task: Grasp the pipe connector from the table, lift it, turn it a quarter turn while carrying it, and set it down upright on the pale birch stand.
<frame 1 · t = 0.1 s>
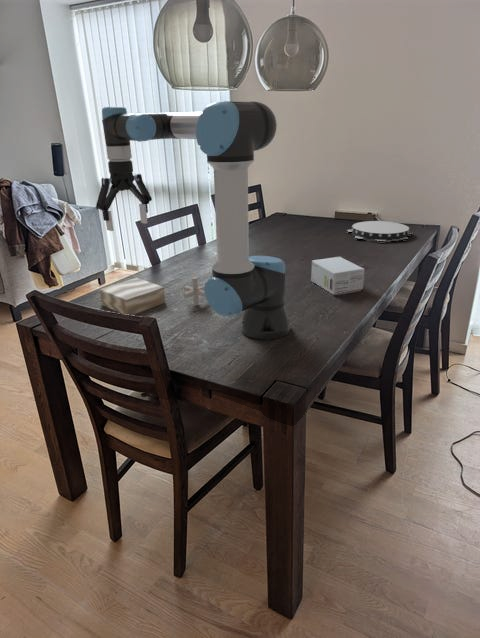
hand: (127, 226, 157), 28 cm above the table, tool pointing down, fingers open, 13 cm apart
stand: (133, 303, 169), on the table
supplement box: (335, 287, 181), on the table
pipe connector: (196, 305, 167), on the table
tambourine: (379, 236, 252), on the table
round metal puck: (243, 300, 170), on the table
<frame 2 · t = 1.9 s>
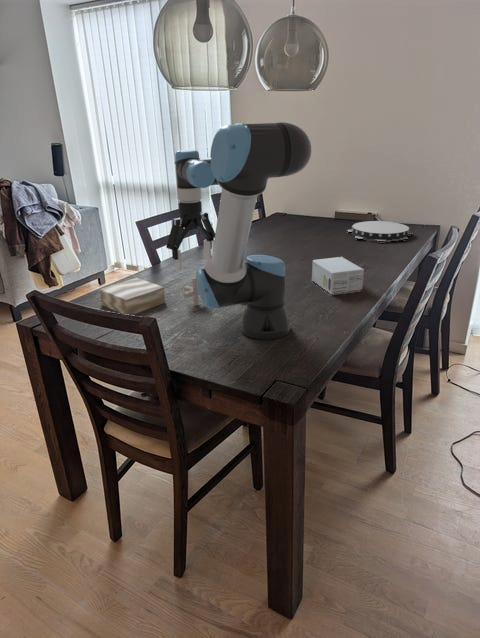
hand: (193, 263, 161), 15 cm above the table, tool pointing down, fingers open, 13 cm apart
nothing on the table moved.
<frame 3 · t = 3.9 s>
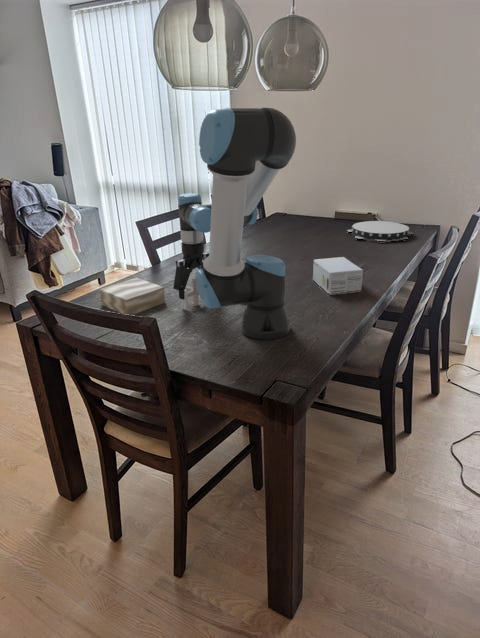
hand: (196, 302, 167), 1 cm above the table, tool pointing down, fingers closed on pipe connector, 10 cm apart
pipe connector: (196, 305, 167), on the table, touching gripper
everything else where it was.
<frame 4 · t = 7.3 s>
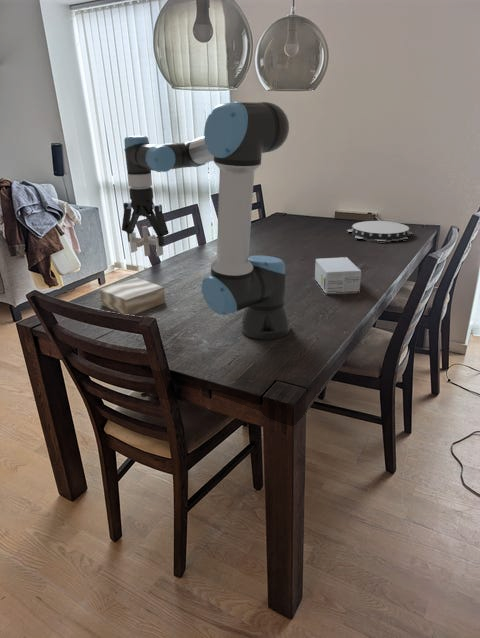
hand: (146, 253, 161), 19 cm above the table, tool pointing down, fingers closed on pipe connector, 10 cm apart
pipe connector: (147, 255, 162), point 18 cm above the table, touching gripper
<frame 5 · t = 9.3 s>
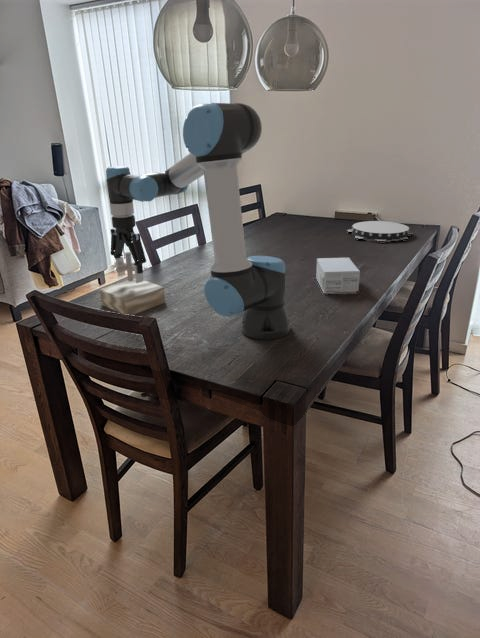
hand: (130, 278, 165), 10 cm above the table, tool pointing down, fingers closed on pipe connector, 10 cm apart
pipe connector: (130, 281, 165), point 9 cm above the table, touching gripper
when the fingers open (8 cm above the table, at t = 10.5 s): pipe connector drops 1 cm, resting on stand.
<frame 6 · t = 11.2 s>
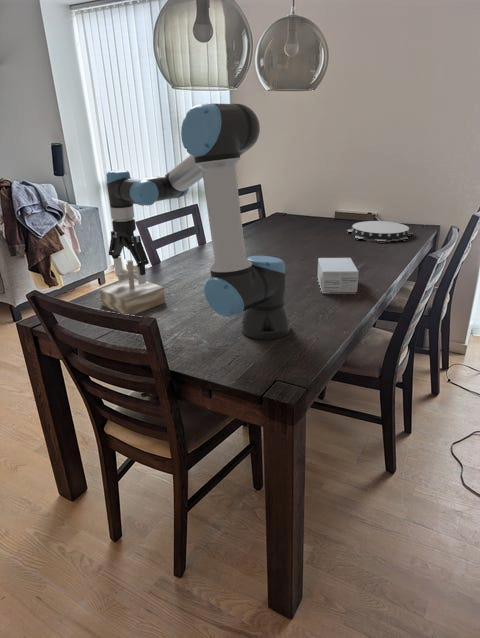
hand: (130, 279, 165), 9 cm above the table, tool pointing down, fingers open, 13 cm apart
pipe connector: (132, 288, 166), point 6 cm above the table, touching stand
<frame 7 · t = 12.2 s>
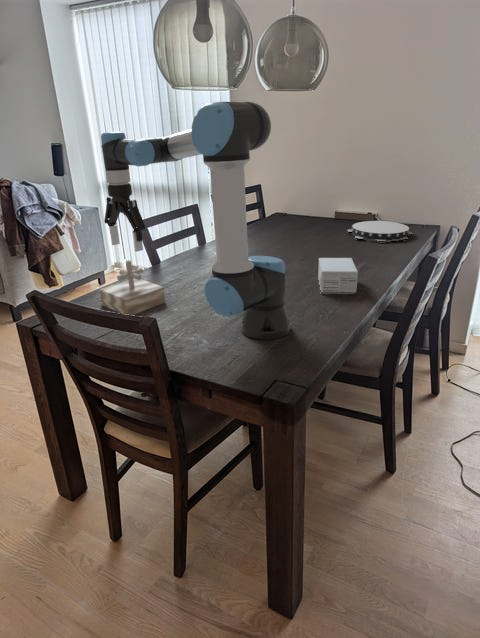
hand: (127, 247, 160), 21 cm above the table, tool pointing down, fingers open, 13 cm apart
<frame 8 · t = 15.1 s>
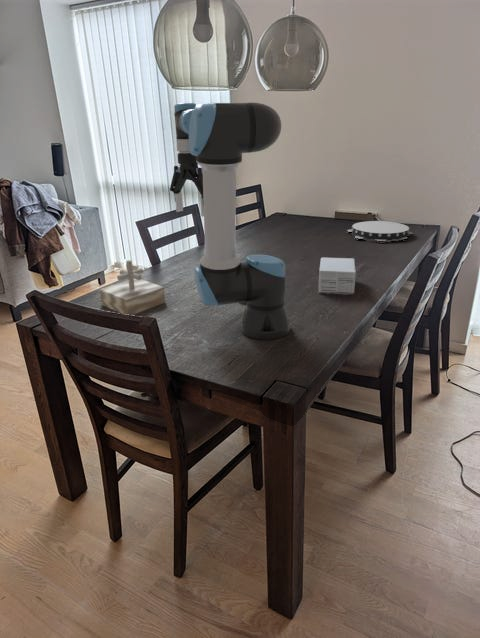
hand: (191, 213, 171), 29 cm above the table, tool pointing down, fingers open, 13 cm apart
at the end: pipe connector inside the target area on the stand (0.1 cm from its centre), point 5.8 cm above the stand's base; pipe connector tilted 0°; the gripper is holding nothing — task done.
